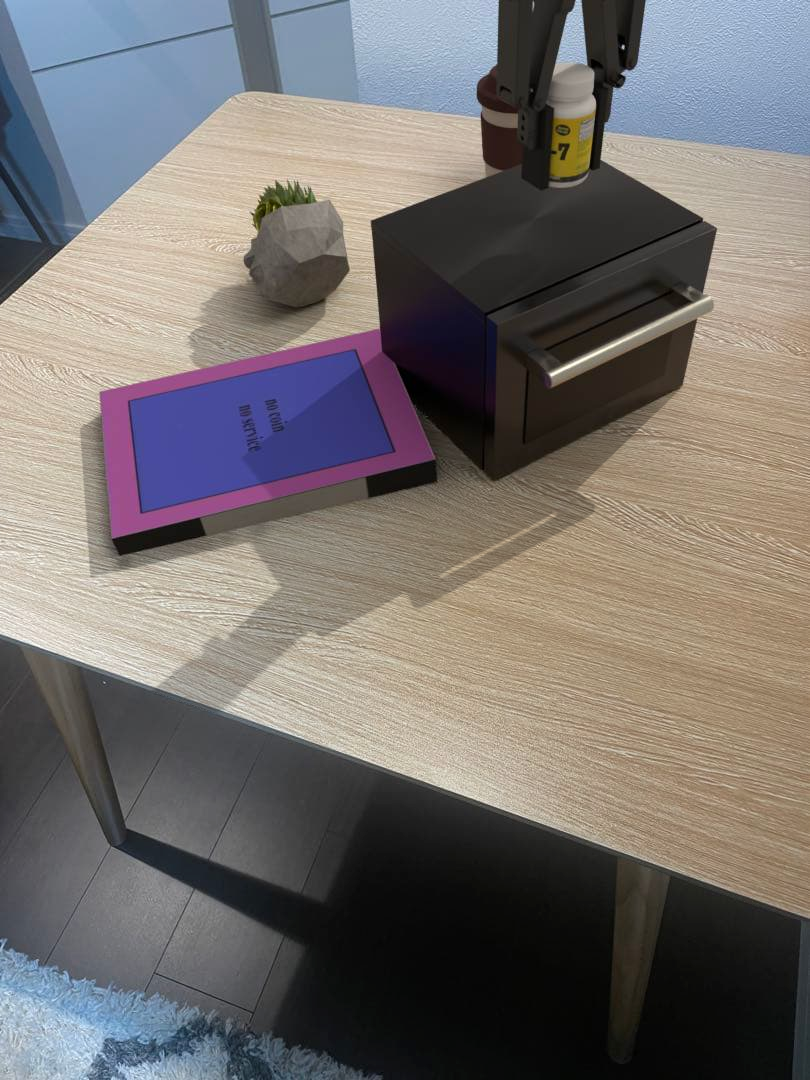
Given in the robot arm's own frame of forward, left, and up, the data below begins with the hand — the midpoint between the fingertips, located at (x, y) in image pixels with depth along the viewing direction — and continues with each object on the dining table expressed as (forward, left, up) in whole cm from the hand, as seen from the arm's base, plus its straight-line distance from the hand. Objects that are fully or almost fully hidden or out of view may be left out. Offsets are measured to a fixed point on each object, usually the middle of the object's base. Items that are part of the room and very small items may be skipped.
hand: (560, 172), depth 77 cm
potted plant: (+35, +1, -24) cm, 42 cm away
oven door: (-9, +3, -24) cm, 25 cm away
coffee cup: (+27, -33, -24) cm, 49 cm away
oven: (+3, -1, -24) cm, 24 cm away
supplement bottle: (0, 0, -1) cm, 1 cm away
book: (+18, +23, -24) cm, 38 cm away
